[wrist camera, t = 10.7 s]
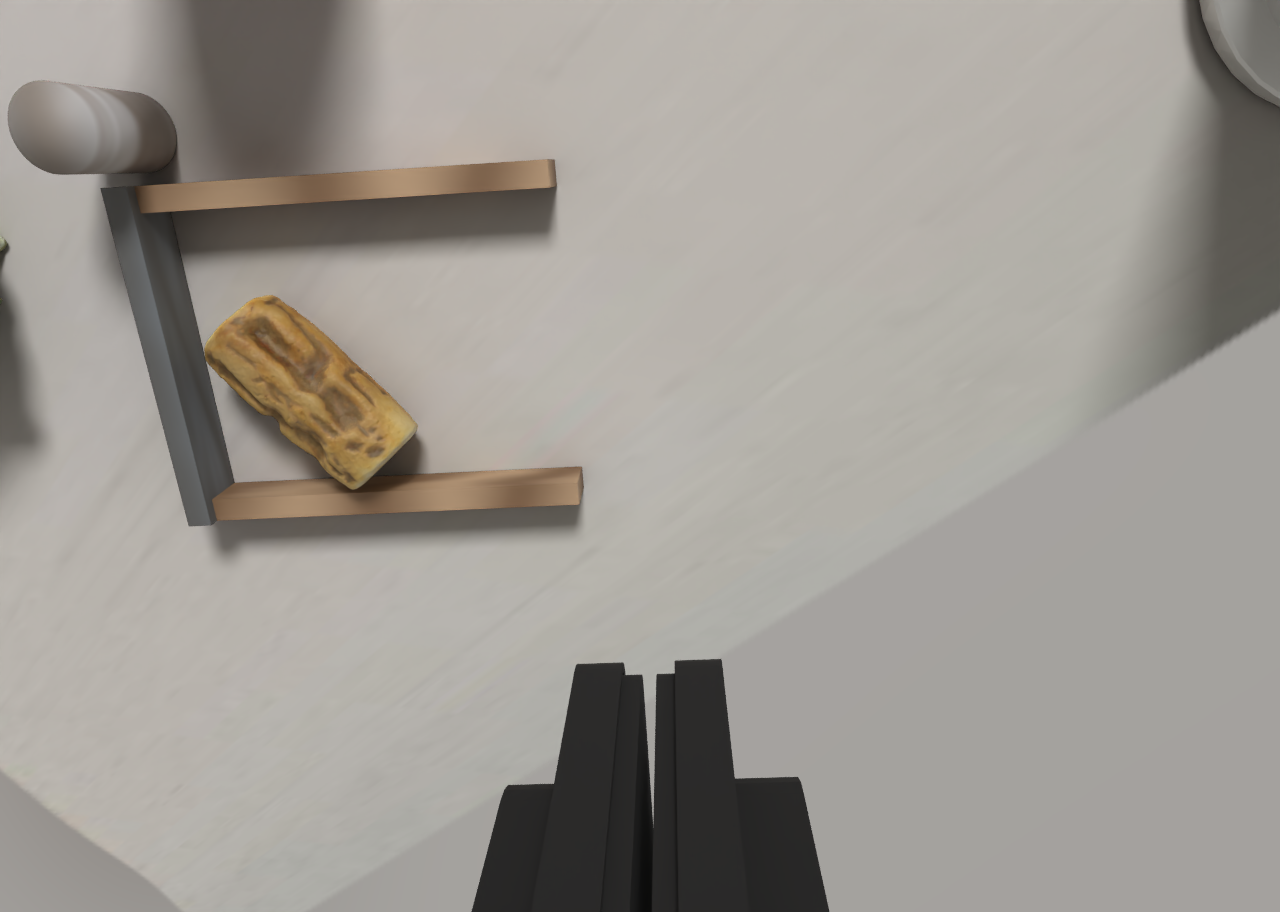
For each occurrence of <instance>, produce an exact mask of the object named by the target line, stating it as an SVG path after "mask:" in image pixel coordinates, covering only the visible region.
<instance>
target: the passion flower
mask: <svg viewBox="0 0 1280 912" xmlns="http://www.w3.org/2000/svg"><path fill="white" fill-rule="evenodd" d="M6 245H7V242H6V240H5V239H4V238H3V237H1V236H0V251H2V250H3V249H4V248H5V247H6ZM1 302H2V299H1V298H0V304H1Z"/></svg>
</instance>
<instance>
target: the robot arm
mask: <svg viewBox="0 0 1280 912" xmlns="http://www.w3.org/2000/svg"><path fill="white" fill-rule="evenodd" d="M1199 1H1200V7H1201V12H1202V18H1203V21H1204V23H1205V26H1206V28H1207V31H1208V33H1209V36H1210V38H1211V41H1212V43H1213V46H1214V48H1215V50H1216V51H1217V53H1218V54H1219V56H1220V57H1221V59H1222V60H1223V61H1224V63H1225V64H1226V66H1227V67H1228V69H1229V70H1230V72H1231V73H1232V74H1233V75H1234V76H1235V77H1236V78H1237V79H1238V80H1239V81H1241V82H1242V83H1243V84H1244V85H1245V86H1246V87H1247V88H1249V89H1250V90H1251V91H1252V92H1253V93H1254V94H1256V95H1257V96H1259V97H1261V98H1263V99H1265V100H1267V101H1269V102H1271V103H1273V104H1275V105H1277V106H1279V107H1280V0H1199ZM655 732H656V733H655V734H656V735H655V779H654V781H655V782H654V828H653V817H652V802H651V790H650V789H651V788H650V774H649V760H648V745H647V731H646V717H645V702H644V687H643V677H642V675H625V667H624V663H597V664H577V665H576V668H575V672H574V677H573V683H572V688H571V694H570V699H569V705H568V710H567V716H566V721H565V727H564V732H563V738H562V743H561V749H560V754H559V760H558V765H557V771H556V776H555V782H554V784H532V785H508V786H507V787H506V789H505V790H504V793H503V795H502V798H501V801H500V805H499V809H498V813H497V817H496V821H495V824H494V828H493V832H492V836H491V840H490V844H489V847H488V851H487V855H486V859H485V863H484V867H483V870H482V875H481V878H480V882H479V886H478V889H477V893H476V897H475V901H474V905H473V909H472V912H829V908H828V904H827V899H826V895H825V890H824V886H823V880H822V876H821V871H820V867H819V862H818V857H817V853H816V848H815V844H814V839H813V834H812V830H811V825H810V820H809V816H808V811H807V807H806V802H805V798H804V793H803V789H802V785H801V782H800V780H799V778H798V777H779V778H745V779H735V777H734V768H733V759H732V750H731V741H730V732H729V722H728V713H727V705H726V695H725V687H724V677H723V668H722V660H721V659H710V660H682V661H675V674H657V679H656V729H655Z"/></svg>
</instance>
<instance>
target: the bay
mask: <svg viewBox="0 0 1280 912" xmlns="http://www.w3.org/2000/svg"><path fill="white" fill-rule="evenodd" d="M8 126H9V130H10V133H11V136H12V139H13V141H14V143H15V145H16V146H17V148H18V149H19V151H20V152H21V153H22V155H23V156H24V157H25V158H26V159H27V160H28V161H30V162H31V163H32V164H33V165H35V166H36V167H38V168H40V169H42V170H44V171H46V172H49V173H53V174H114V173H151V172H155V171H158V170H160V169H162V168H164V167H165V166H166V165H167V164H168V163H169V162H170V161H171V159H172V157H173V156H174V153H175V150H176V143H177V138H176V131H175V127H174V124H173V122H172V120H171V118H170V116H169V114H168V113H167V111H166V110H165V109H164V108H163V107H162V106H161V105H160V104H159V103H158V102H157V101H155V100H154V99H152V98H151V97H149V96H146V95H144V94H141V93H135V92H128V91H120V90H113V89H105V88H97V87H90V86H82V85H75V84H67V83H59V82H52V81H33V82H30V83H27V84H25V85H23V86H22V87H21V88H19V89H18V90H17V91H16V92H15V94H14V95H13V97H12V99H11V101H10V104H9V108H8ZM555 186H557V183H556V171H555V160H550V159H547V160H531V161H516V162H501V163H485V164H470V165H454V166H439V167H424V168H408V169H393V170H377V171H362V172H347V173H331V174H316V175H300V176H285V177H270V178H254V179H239V180H223V181H208V182H193V183H177V184H162V185H146V186H130V187H113V188H101V192H102V196H103V200H104V204H105V207H106V211H107V215H108V219H109V223H110V227H111V230H112V234H113V238H114V242H115V246H116V250H117V253H118V257H119V261H120V265H121V269H122V272H123V276H124V280H125V284H126V288H127V292H128V295H129V299H130V303H131V307H132V311H133V315H134V318H135V322H136V326H137V330H138V334H139V338H140V341H141V345H142V349H143V353H144V357H145V360H146V364H147V368H148V372H149V376H150V380H151V383H152V387H153V391H154V395H155V399H156V403H157V406H158V410H159V414H160V418H161V422H162V425H163V429H164V433H165V437H166V441H167V445H168V448H169V452H170V456H171V460H172V464H173V468H174V471H175V475H176V479H177V483H178V487H179V491H180V494H181V498H182V502H183V506H184V510H185V513H186V517H187V521H188V525H189V526H206V525H212V524H213V523H215V522H216V521H220V520H242V519H265V518H287V517H309V516H332V515H354V514H377V513H399V512H422V511H444V510H467V509H489V508H512V507H534V506H556V505H579V504H580V500H581V496H582V492H583V488H584V486H583V474H582V467H564V468H542V469H521V470H500V471H478V472H457V473H435V474H414V475H393V476H372V477H371V478H370V479H369V480H368V481H367V482H366V483H365V484H363V485H362V486H360V487H359V488H357V489H350V488H348V487H347V486H346V485H344V484H343V483H341V482H340V481H338V480H337V479H335V478H328V479H307V480H286V481H264V482H243V483H234V479H233V475H232V471H231V467H230V462H229V458H228V454H227V450H226V446H225V441H224V437H223V433H222V429H221V425H220V420H219V416H218V412H217V408H216V403H215V399H214V395H213V391H212V387H211V382H210V378H209V374H208V370H207V366H206V361H205V357H204V353H203V349H202V344H201V340H200V336H199V332H198V328H197V323H196V319H195V315H194V311H193V307H192V302H191V298H190V294H189V290H188V285H187V281H186V277H185V273H184V269H183V264H182V260H181V256H180V252H179V248H178V243H177V239H176V235H175V231H174V226H173V222H172V218H171V214H170V211H186V210H202V209H217V208H233V207H249V206H265V205H281V204H296V203H312V202H328V201H344V200H360V199H375V198H391V197H407V196H423V195H439V194H454V193H470V192H486V191H502V190H518V189H533V188H549V187H555Z"/></svg>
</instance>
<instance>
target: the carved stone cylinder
mask: <svg viewBox="0 0 1280 912" xmlns="http://www.w3.org/2000/svg"><path fill="white" fill-rule="evenodd" d="M204 351H205V359H206V361H207V362H208V364H209V365H210V366H211V367H212V368H213V369H214V370H215V371H216V372H217V373H218V375H219V376H220V377H221V378H223V379H224V380H225V381H226V382H227V383H228V384H229V385H230V387H232V388H233V389H234V390H235V391H236V392H237V393H238V394H239V395H240V396H241V397H242V398H243V399H244V400H245V401H247V403H248V404H249V405H250V406H252V407H254V408H255V409H256V410H257V411H258V413H261V414H263V415H268V416H273V417H274V418H275V419H276V420H277V421H278V423H279V425H280V431H281V432H282V434H283V435H285V436H286V437H287V438H288V439H289V440H290V441H291V442H292V443H294V444H296V445H297V446H298V447H300V448H301V449H303V450H304V451H306V452H307V453H309V454H311V455H313V456H314V457H315V458H316V459H317V460H318V461H319V463H320V464H321V466H322V467H323V468H324V469H325V471H326V472H327V473H329V474H330V475H331V476H332V477H334V478H335V479H337V480H338V481H340V482H341V483H343V484H344V485H346V486H347V487H348V488H350V489H357V488H359V487H360V486H362V485H363V484H365V483H366V482H367V481H368V480H369V479H370V478H371V477H372V476H373V475H374V474H375V473H376V472H377V471H378V470H379V469H380V468H381V467H382V466H383V465H385V464H386V462H387V461H388V460H390V459H391V458H392V457H393V456H394V455H395V453H396V452H397V451H398V450H399V449H400V448H401V447H402V446H403V445H404V444H405V443H406V442H407V441H408V440H410V439H411V437H412V436H413V435H414V433H415V432H416V430H417V427H418V426H417V424H416V423H415V421H414V420H413V419H412V417H411V416H410V415H409V414H408V413H407V412H406V411H405V410H404V409H403V408H402V407H401V406H400V405H399V404H398V403H397V402H396V401H395V400H394V399H393V398H392V397H391V395H390V394H389V393H388V392H386V391H385V390H384V389H383V388H382V387H381V386H380V385H378V384H377V383H376V382H375V380H373V379H372V377H371V376H369V375H368V374H367V373H366V372H364V371H363V370H362V369H361V368H360V367H359V366H358V365H357V364H355V363H354V362H353V361H352V360H351V359H350V358H349V357H348V356H347V355H346V354H345V353H344V352H343V351H342V350H341V349H340V348H339V347H338V346H337V345H336V344H335V343H334V342H333V341H332V340H331V339H330V338H329V337H328V336H326V335H325V334H324V333H323V332H322V331H320V330H319V329H318V328H317V327H316V326H315V325H314V324H313V323H311V322H310V321H309V320H307V319H306V318H305V317H303V316H302V315H300V314H299V313H298V312H297V311H296V310H294V309H293V308H291V307H289V306H288V305H286V304H285V303H284V302H282V301H281V300H280V299H279V298H278V297H275V296H273V295H266V296H263V297H258V298H254V299H252V300H251V301H249V302H247V303H246V304H245V305H244V306H242V307H241V308H240V309H239V310H238V311H236V312H235V313H234V314H233V315H232V316H230V317H229V318H228V319H227V320H225V321H224V322H223V323H222V324H221V325H220V326H219V327H218V328H217V329H216V331H215V332H214V333H213V335H212V336H211V337H210V338H209V340H208V341H207V342H206V345H205V348H204Z"/></svg>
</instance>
